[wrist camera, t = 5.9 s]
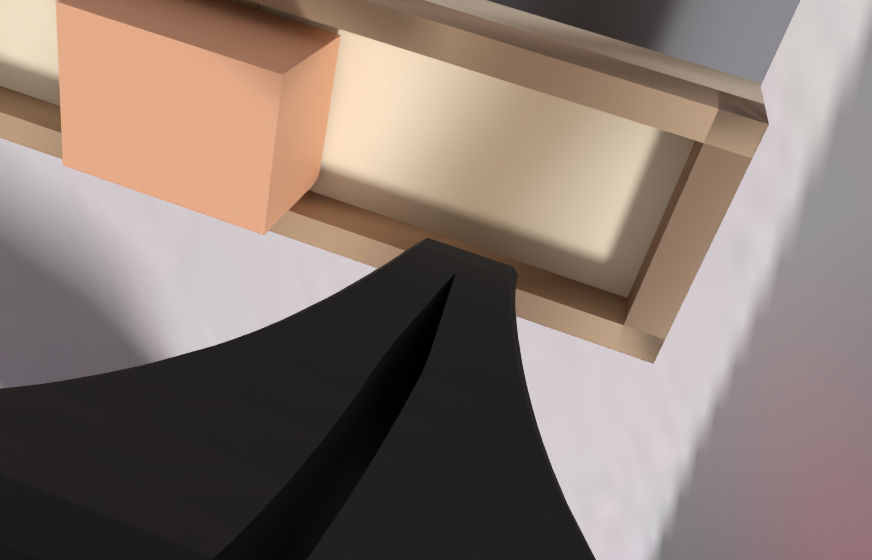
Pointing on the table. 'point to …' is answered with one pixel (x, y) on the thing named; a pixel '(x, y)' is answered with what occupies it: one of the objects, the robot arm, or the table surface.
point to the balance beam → (510, 139)
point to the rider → (196, 102)
